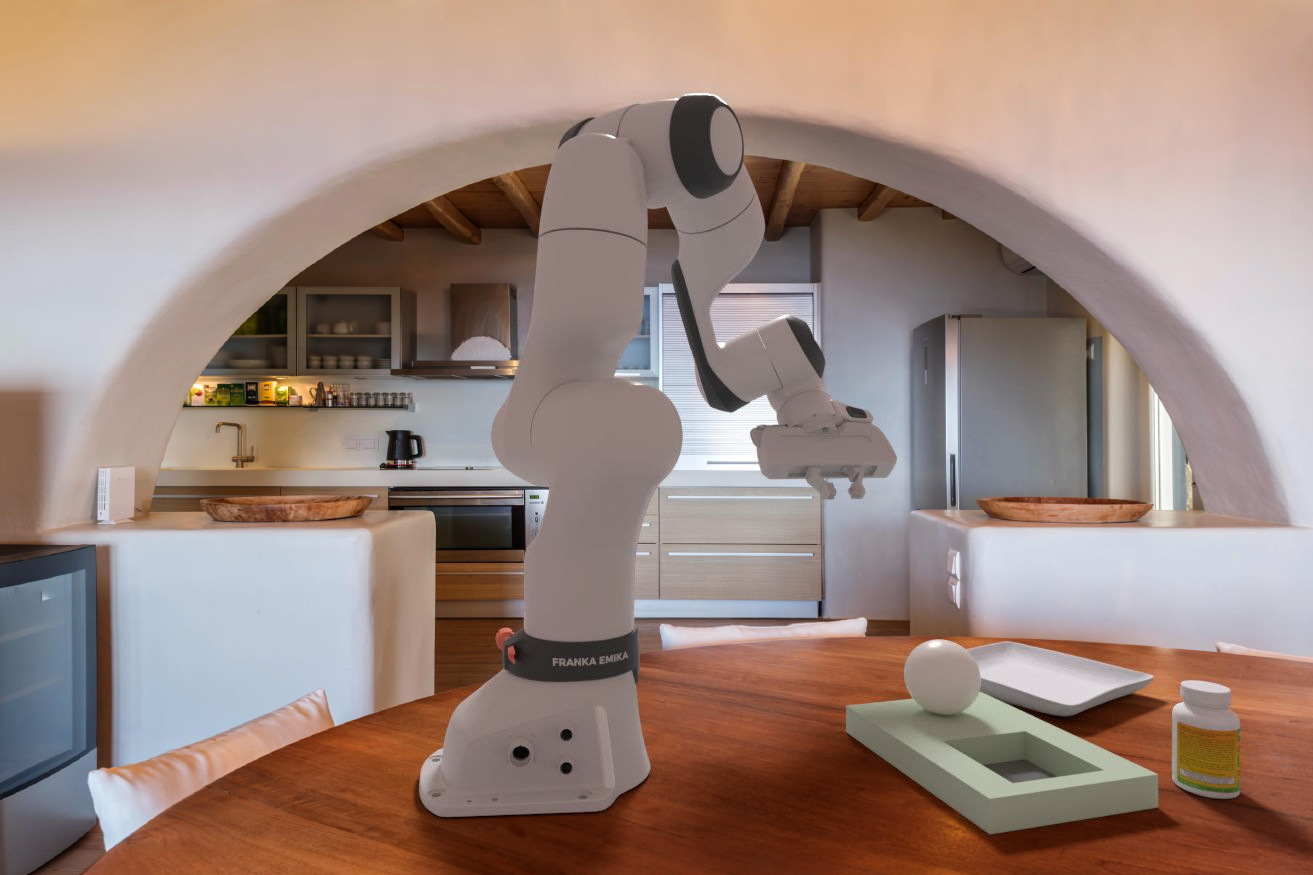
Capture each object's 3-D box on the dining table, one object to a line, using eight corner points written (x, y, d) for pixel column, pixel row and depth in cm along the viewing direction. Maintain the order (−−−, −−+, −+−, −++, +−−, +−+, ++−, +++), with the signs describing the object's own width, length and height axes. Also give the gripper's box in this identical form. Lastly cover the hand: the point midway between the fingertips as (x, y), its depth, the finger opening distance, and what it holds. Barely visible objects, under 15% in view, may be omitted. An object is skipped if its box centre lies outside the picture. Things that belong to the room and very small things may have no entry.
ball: (932, 729, 82) (932, 652, 82) (889, 704, 90) (889, 634, 90) (997, 721, 84) (997, 647, 84) (950, 698, 92) (950, 629, 92)
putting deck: (989, 834, 66) (989, 798, 66) (846, 731, 89) (846, 705, 89) (1158, 807, 71) (1158, 774, 71) (980, 716, 94) (980, 691, 94)
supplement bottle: (1252, 803, 72) (1252, 697, 72) (1187, 797, 73) (1187, 693, 73) (1222, 778, 77) (1223, 679, 77) (1162, 773, 78) (1162, 675, 79)
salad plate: (1158, 698, 102) (1158, 672, 102) (1072, 733, 90) (1072, 703, 90) (1006, 660, 120) (1006, 638, 120) (917, 685, 108) (917, 660, 108)
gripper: (752, 409, 112) (781, 482, 103) (880, 411, 118) (918, 480, 108) (740, 440, 116) (767, 513, 107) (864, 440, 122) (900, 509, 112)
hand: (844, 496), depth 108 cm, fingers open, 3 cm apart
